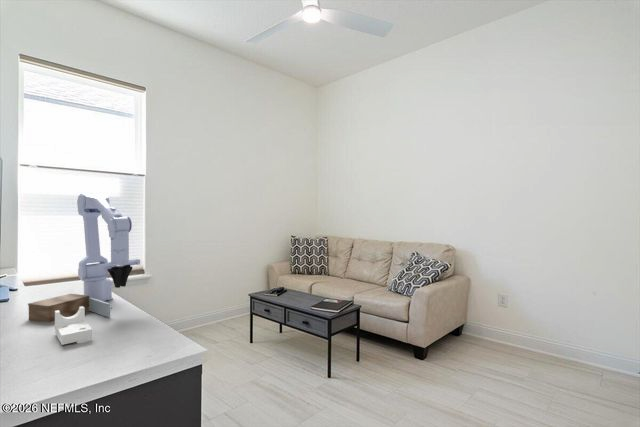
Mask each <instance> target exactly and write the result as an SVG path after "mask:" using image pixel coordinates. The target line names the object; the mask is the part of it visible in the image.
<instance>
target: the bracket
mask: <svg viewBox="0 0 640 427" xmlns="http://www.w3.org/2000/svg"><path fill="white" fill-rule="evenodd" d="M85 314H86V312H85V308H84V307H83V306H81V307H79V310H78V312H77V313H76V314H75V315H73V316H70V317H64V316H62V315H61V314H60V311H59V310H57V311H55V321H54V334H55V336H56V337H57V340H58V341H59V343H60V345H62V346H63V345H67V344H72V343H76V344H82V343H87V342H92V341H93V329H92V327H91V326H90V325H89V324H88V322H86V319H85V318H86V317H85V316H86V315H85Z"/></svg>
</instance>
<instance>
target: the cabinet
mask: <svg viewBox="0 0 640 427" xmlns="http://www.w3.org/2000/svg"><path fill="white" fill-rule="evenodd" d="M27 306H28V320H30V321H36V322H42V323H48V324H49V323H53V322H55V311H57V310H59V311H60V314H61V315H62V316H64V317H71V316H73V315H75V314H76V313H77V312H78V310H79V307H81V306H83V307H84V308H85V313H86V312H90V310H89V296H87V295H84V294H79V293H66V294H63V295H58V296H55V297H50V298H46V299H41V300H38V301H32V302H29V303H27Z"/></svg>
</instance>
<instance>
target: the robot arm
mask: <svg viewBox="0 0 640 427" xmlns="http://www.w3.org/2000/svg"><path fill="white" fill-rule="evenodd" d="M76 203H77V204H76V205H77V212H78V216H79V215H80V216H82V219H83V228H84V229H83V230H84V232H83V233H84V242H85V257H84V258H82V259H81V260H80V261H79V262H78V270H77V276H78V279H80V280H81V281H82V282H83V295H87V296H89V298H94V299H97V300H101V301H104V302H107V301H109V300H113V299H114V297H113V292H112V291H113V290H112V288H113V287H112V286H113V284H114V288H117V289H119V288H121V287H124V288H125V287H126V285H127V282H128V278H129V276H130V274H131V272H132V270H133V266H135V265H137V266H138V265H141V259H140V258H136V259H130V251H129V250H130V248H129V247H130V246H129V245H130V238H129V237H130V236H129V234H130V232H132V227H133V224H132V219H131V218H130V216H123V215H122V213H120V212H119V210H118V209H117V208H116V207H113V206H111V205H110V198H109V195H108V194H106V193H105V194H100V193H99V194H96V193H95V194H93V193H92V194H91V193H79V195H78V197H77V202H76ZM99 216H101V218H102V219H103V220H104V222H105V223H106V224H107V230H108V236H109V238H110V262H109V261H108V258H106V257H104V256H103V255H101V246H100V244H101V242H100V235H99V221H98V218H99ZM109 275H110V276H111V279H112V281H113V284H112V281H111V279H110V278H108V276H109Z"/></svg>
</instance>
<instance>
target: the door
mask: <svg viewBox="0 0 640 427" xmlns="http://www.w3.org/2000/svg"><path fill="white" fill-rule="evenodd" d="M112 309H113V306H112V305H111V303H110V302H107V301H101V300H97V299H94V298H89V312H93V313H95V314H98V315H101V316H104V317H107V318H110V317H111V310H112Z"/></svg>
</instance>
